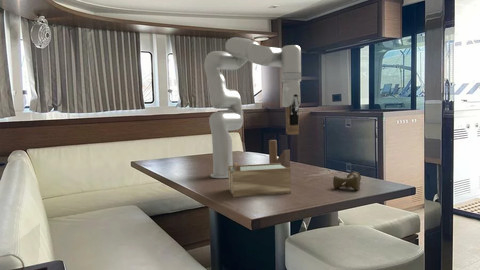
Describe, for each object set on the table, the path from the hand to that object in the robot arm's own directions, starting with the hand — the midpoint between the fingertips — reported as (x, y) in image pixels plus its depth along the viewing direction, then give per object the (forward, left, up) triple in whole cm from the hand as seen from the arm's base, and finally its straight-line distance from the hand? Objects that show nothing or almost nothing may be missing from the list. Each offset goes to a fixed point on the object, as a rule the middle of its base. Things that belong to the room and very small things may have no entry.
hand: (292, 124), depth 145 cm
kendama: (+4, +21, -26) cm, 34 cm away
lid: (0, -14, -17) cm, 23 cm away
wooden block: (-18, -1, -26) cm, 31 cm away
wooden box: (0, -14, -26) cm, 29 cm away
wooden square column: (0, 0, -4) cm, 4 cm away
